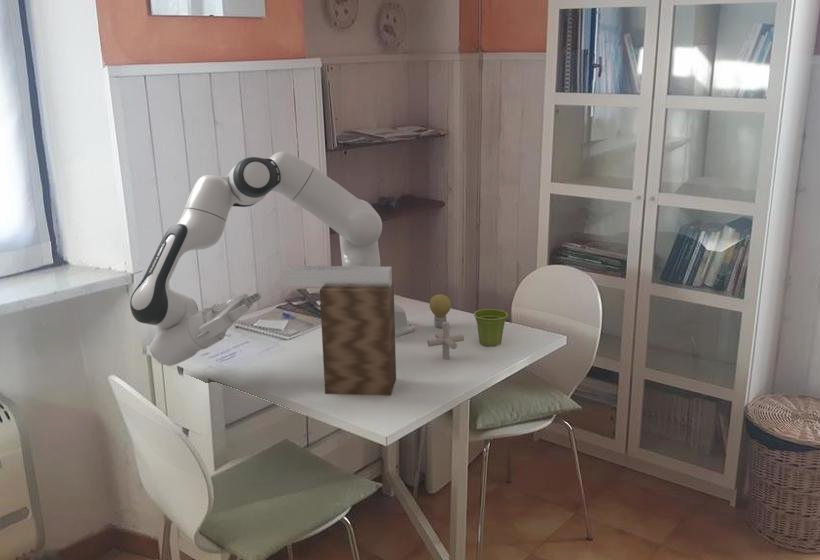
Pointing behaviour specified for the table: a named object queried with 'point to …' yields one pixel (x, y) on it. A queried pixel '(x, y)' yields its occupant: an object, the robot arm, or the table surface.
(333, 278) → the aluminium bar
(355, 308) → the walnut stand
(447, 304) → the light bulb
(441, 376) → the table surface
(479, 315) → the plant pot
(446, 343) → the pipe connector
